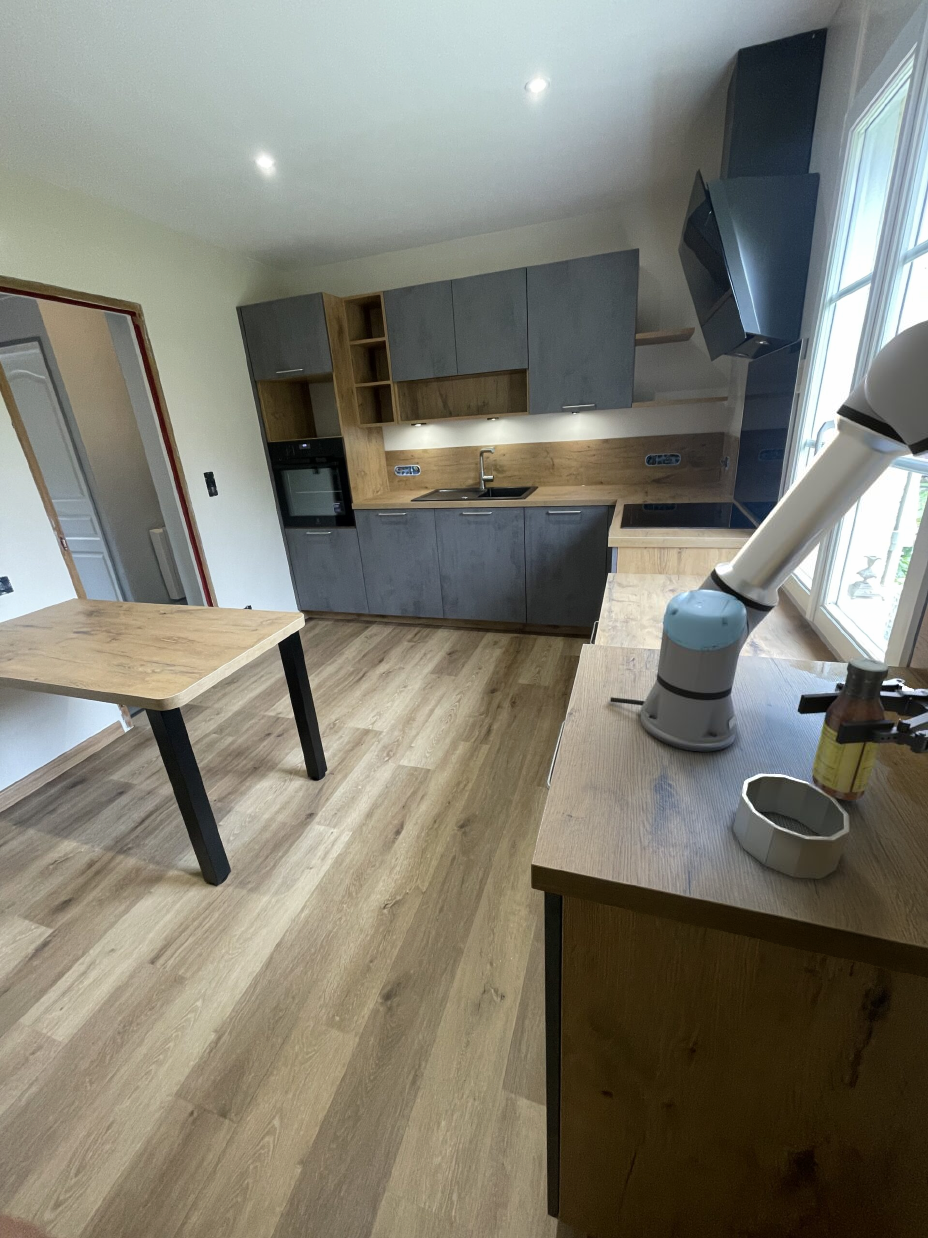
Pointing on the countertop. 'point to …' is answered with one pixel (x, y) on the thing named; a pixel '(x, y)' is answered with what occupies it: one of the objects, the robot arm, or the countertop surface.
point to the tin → (782, 844)
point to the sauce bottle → (850, 764)
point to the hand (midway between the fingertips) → (820, 718)
